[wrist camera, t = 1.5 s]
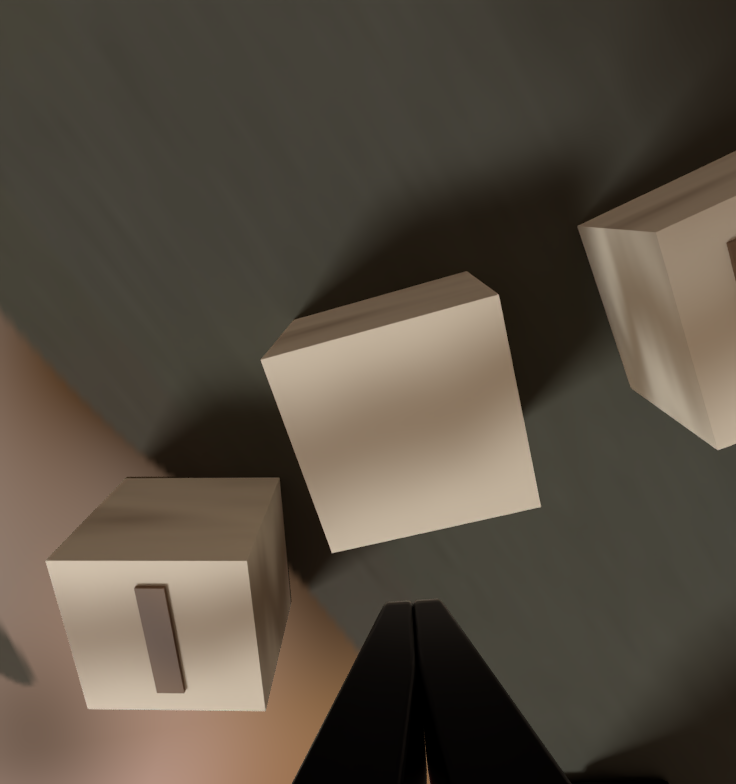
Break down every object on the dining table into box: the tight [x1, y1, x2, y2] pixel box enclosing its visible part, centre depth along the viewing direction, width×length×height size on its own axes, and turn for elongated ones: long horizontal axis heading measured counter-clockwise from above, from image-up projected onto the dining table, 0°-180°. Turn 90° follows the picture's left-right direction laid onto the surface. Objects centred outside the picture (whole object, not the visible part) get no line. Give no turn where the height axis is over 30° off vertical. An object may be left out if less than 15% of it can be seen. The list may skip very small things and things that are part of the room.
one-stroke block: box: [46, 477, 291, 711], centre depth 18 cm, size 6×6×5 cm
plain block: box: [261, 271, 541, 553], centre depth 16 cm, size 6×6×5 cm
